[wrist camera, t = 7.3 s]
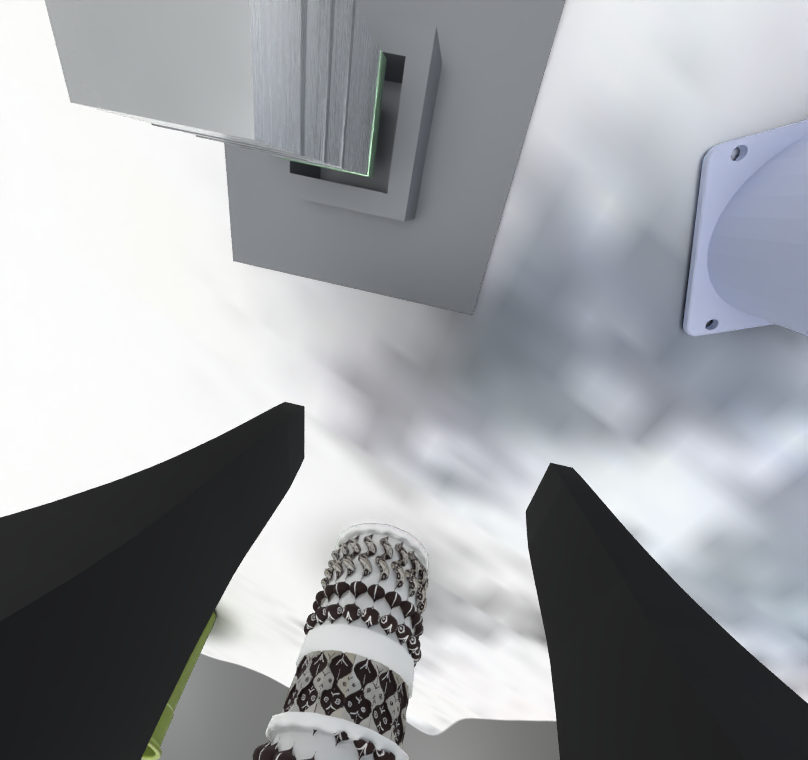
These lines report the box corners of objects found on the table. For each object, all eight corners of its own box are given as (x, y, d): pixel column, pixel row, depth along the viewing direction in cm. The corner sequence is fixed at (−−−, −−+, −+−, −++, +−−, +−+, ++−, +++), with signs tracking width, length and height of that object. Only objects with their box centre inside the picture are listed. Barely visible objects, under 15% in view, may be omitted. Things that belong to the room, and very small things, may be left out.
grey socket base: (577, -53, 11) (641, -196, 7) (471, 309, 18) (474, 340, 14) (222, -111, 12) (99, -271, 8) (244, 258, 18) (182, 273, 14)
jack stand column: (386, 60, 10) (242, -213, 3) (373, 178, 11) (255, 141, 5) (290, 42, 10) (-22, -252, 4) (289, 160, 11) (70, 103, 5)
